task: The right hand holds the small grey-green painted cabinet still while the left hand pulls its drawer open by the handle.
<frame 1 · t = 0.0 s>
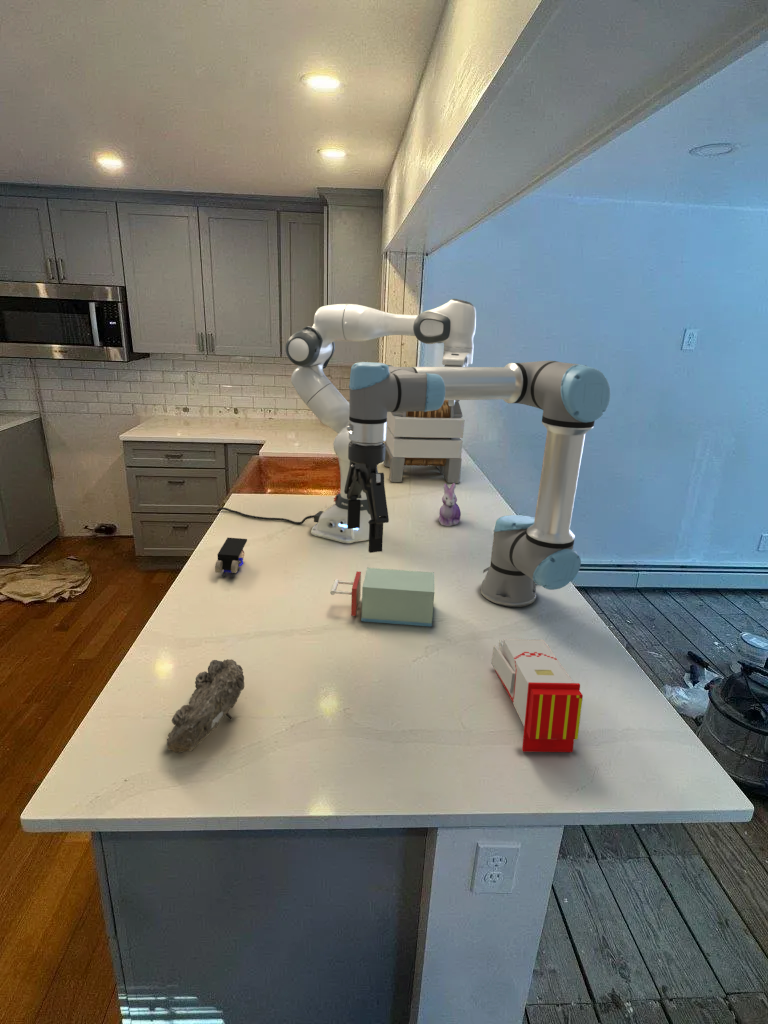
left hand: (454, 403, 174), 48 cm above the counter, tool pointing down, fingers open, 8 cm apart
right hand: (363, 539, 121), 28 cm above the counter, tool pointing down, fingers open, 13 cm apart
transformer: (419, 473, 275), on the counter
figurine: (449, 522, 213), on the counter
figurine character: (232, 569, 168), on the counter
cabinet: (397, 612, 148), on the counter
fossil: (212, 717, 108), on the counter
drawer: (374, 594, 147), point 5 cm above the counter, slide at 1.5 cm
toy: (527, 703, 116), on the counter
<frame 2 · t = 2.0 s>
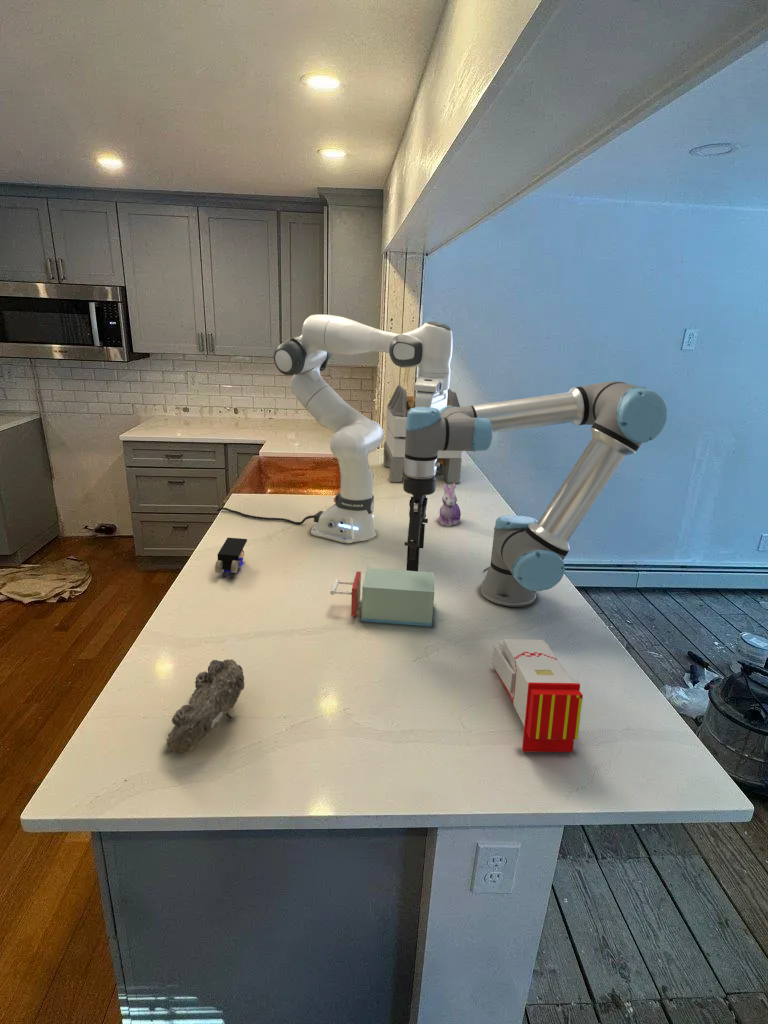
left hand: (430, 430, 166), 42 cm above the counter, tool pointing down, fingers open, 8 cm apart
right hand: (415, 558, 139), 17 cm above the counter, tool pointing down, fingers open, 13 cm apart
nothing on the counter moved.
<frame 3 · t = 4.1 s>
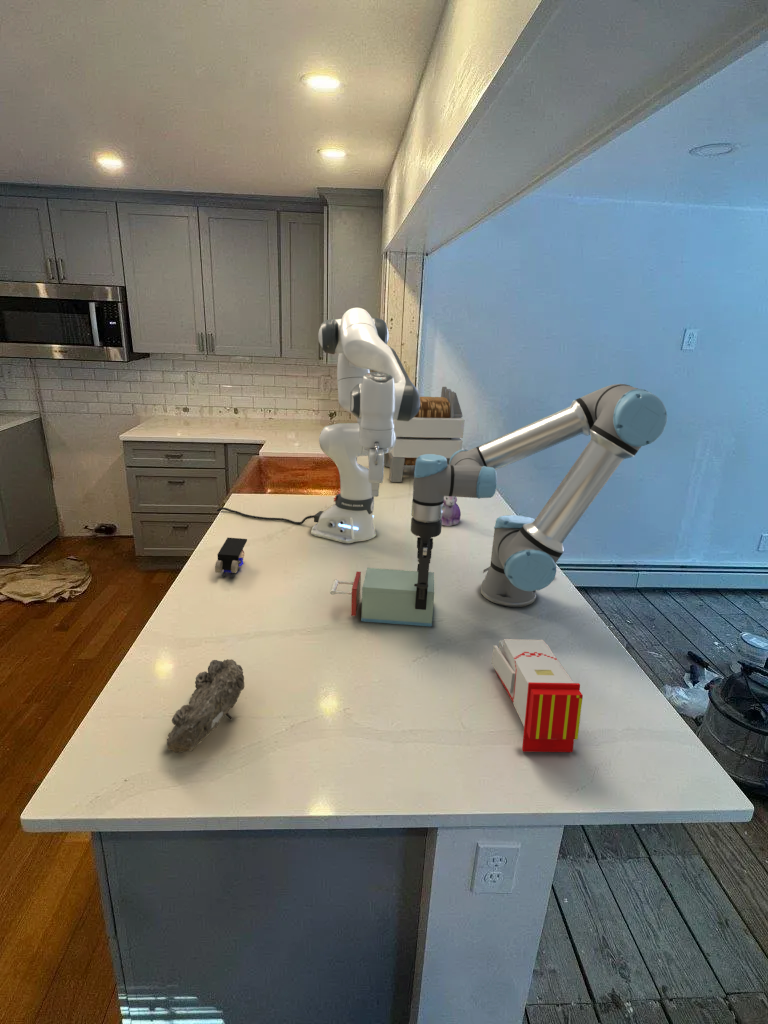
left hand: (374, 490, 149), 30 cm above the counter, tool pointing down, fingers open, 8 cm apart
right hand: (420, 597, 146), 5 cm above the counter, tool pointing down, fingers closed on cabinet, 11 cm apart
cabinet: (397, 612, 148), on the counter, touching right hand
everything else where it was.
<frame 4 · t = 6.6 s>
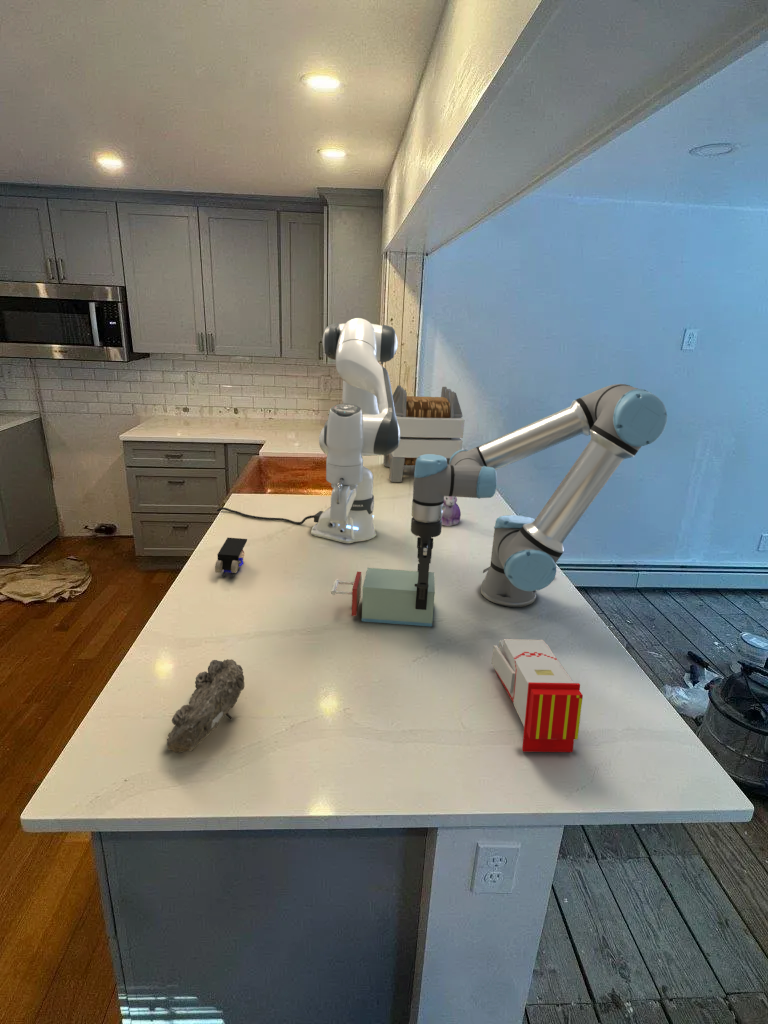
left hand: (343, 526, 141), 23 cm above the counter, tool pointing down, fingers closed
right hand: (421, 597, 146), 5 cm above the counter, tool pointing down, fingers closed on cabinet, 11 cm apart
cabinet: (397, 612, 148), on the counter, touching right hand
everything else where it was.
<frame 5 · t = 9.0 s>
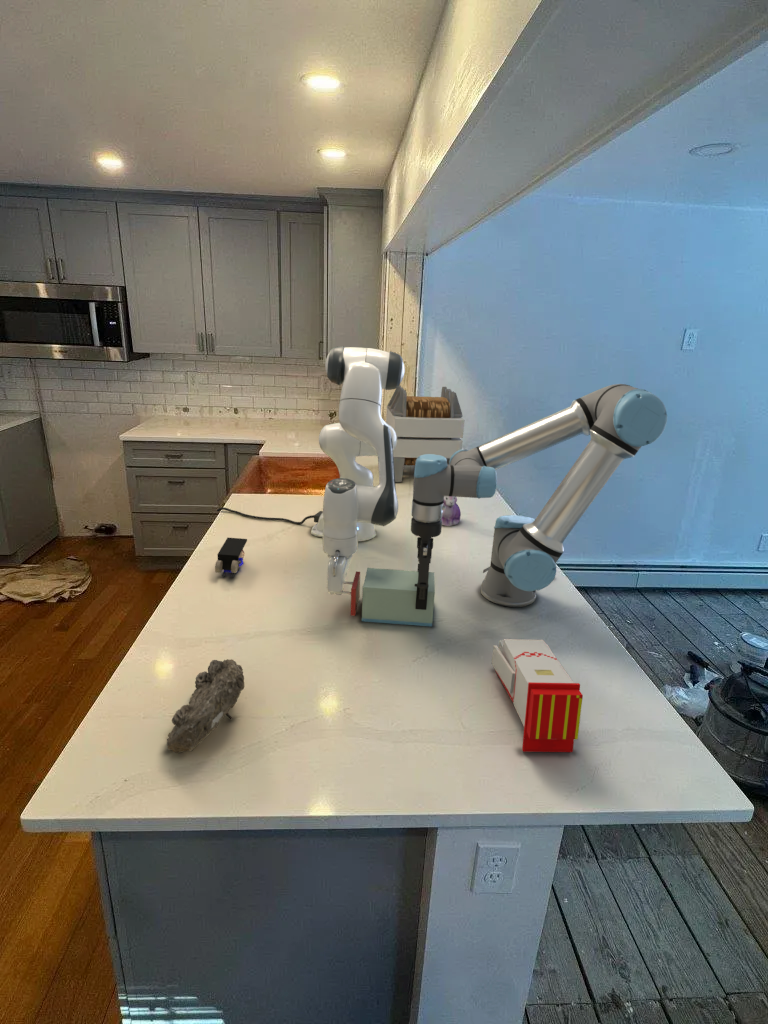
left hand: (339, 592, 147), 5 cm above the counter, tool pointing down, fingers closed, pressing on drawer
right hand: (421, 597, 146), 5 cm above the counter, tool pointing down, fingers closed on cabinet, 11 cm apart
cabinet: (397, 612, 148), on the counter, touching right hand
drawer: (373, 594, 147), point 5 cm above the counter, slide at 1.8 cm, touching left hand
everything else where it was.
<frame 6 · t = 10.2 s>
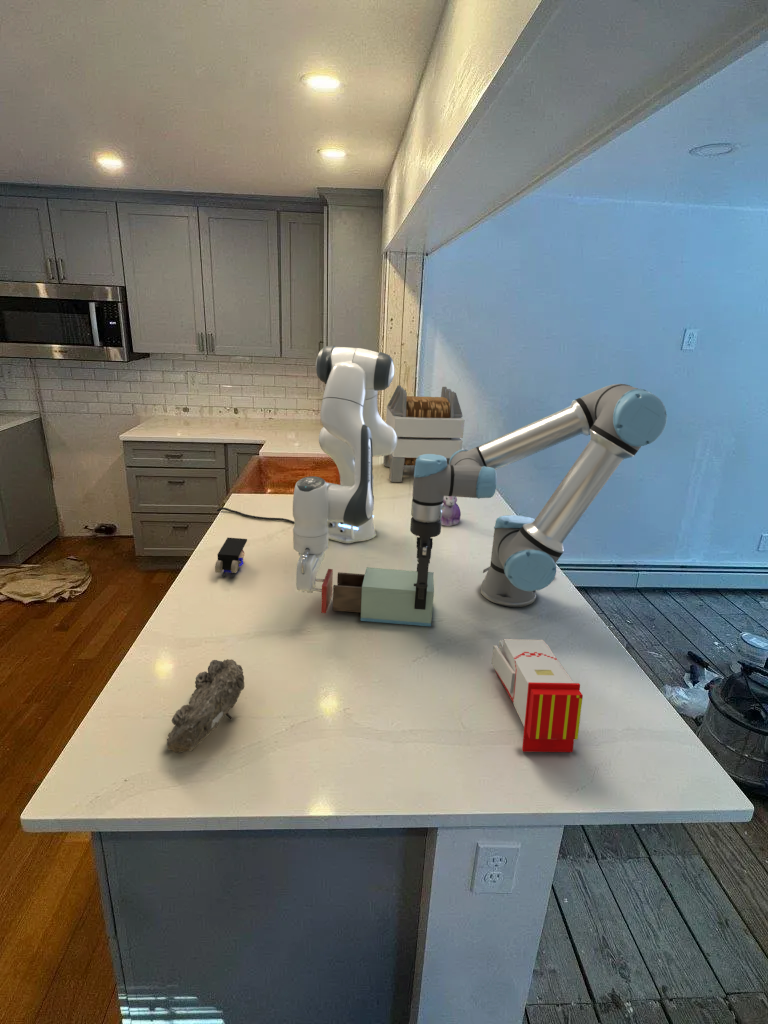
left hand: (311, 590, 148), 5 cm above the counter, tool pointing down, fingers closed, pressing on drawer
right hand: (420, 597, 146), 5 cm above the counter, tool pointing down, fingers closed on cabinet, 11 cm apart
cabinet: (396, 612, 148), on the counter, touching right hand
drawer: (345, 591, 147), point 5 cm above the counter, slide at 8.9 cm, touching left hand
everything else where it was.
when the right hand's fingers open (5 cm above the counter, at t = 12.1 s): cabinet stays where it is, on the counter.
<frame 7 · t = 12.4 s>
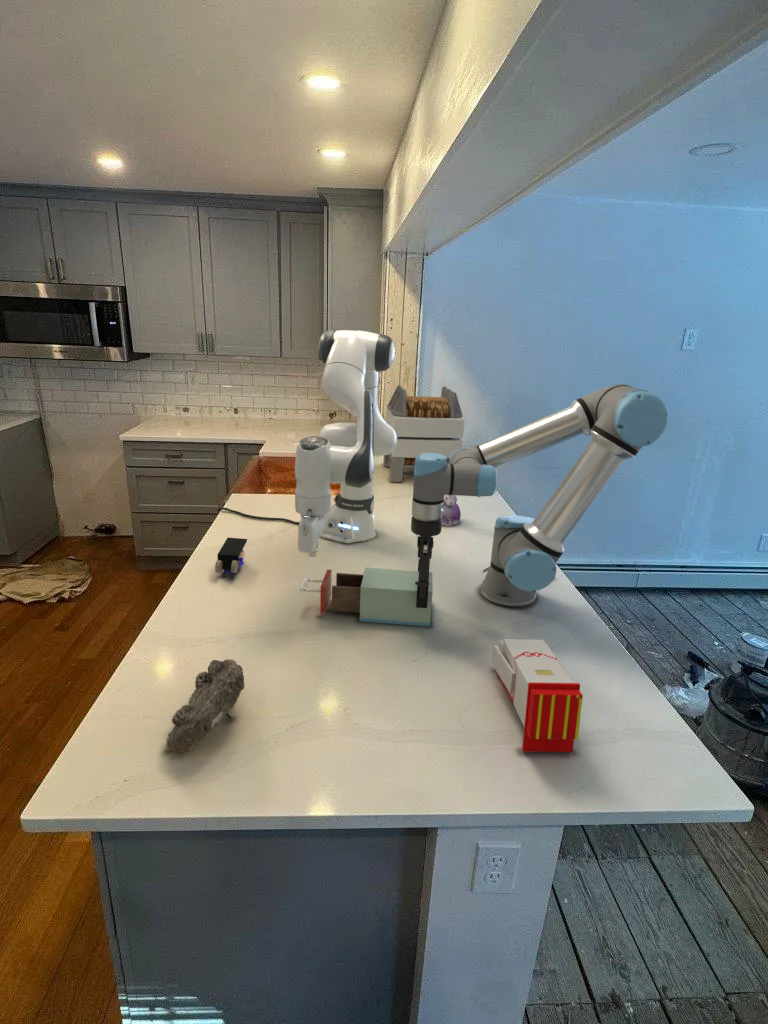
left hand: (313, 555, 144), 15 cm above the counter, tool pointing down, fingers closed
right hand: (421, 594, 146), 6 cm above the counter, tool pointing down, fingers open, 13 cm apart
cabinet: (395, 612, 148), on the counter
drawer: (344, 592, 147), point 5 cm above the counter, slide at 8.9 cm
everything else where it was.
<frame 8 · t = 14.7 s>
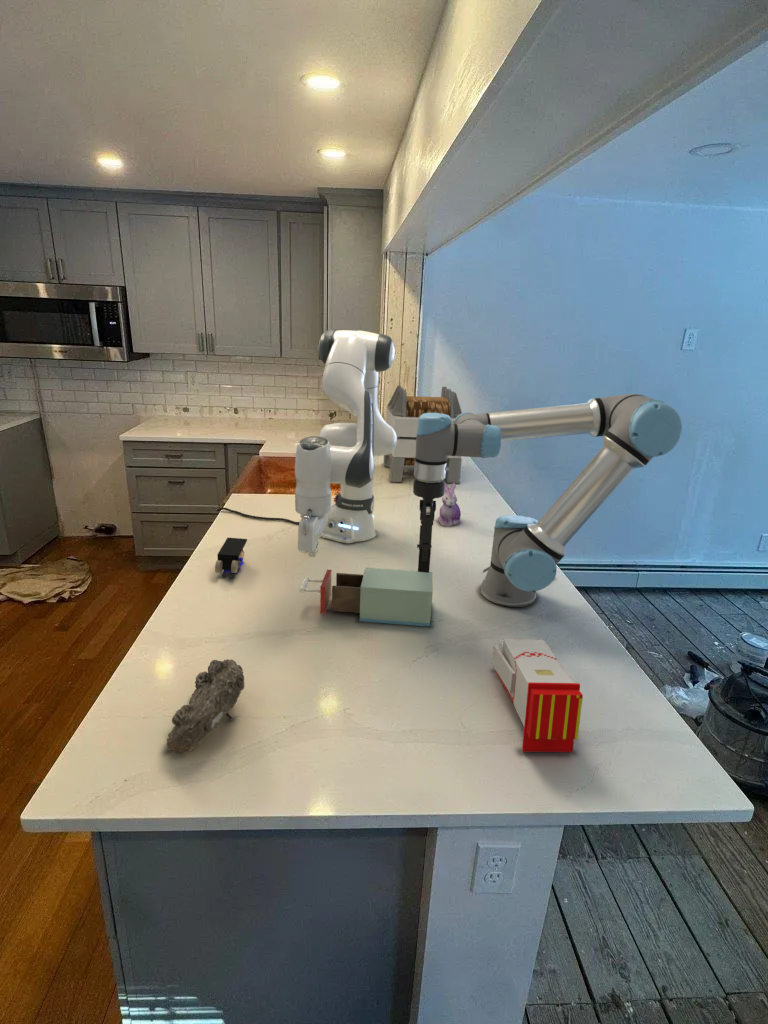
left hand: (313, 555, 144), 15 cm above the counter, tool pointing down, fingers closed
right hand: (423, 560, 142), 16 cm above the counter, tool pointing down, fingers open, 13 cm apart
nothing on the counter moved.
at the end: drawer slide at 8.9 cm; cabinet tilted 0°; cabinet never tilted more than 3° during the clip; cabinet moved 0.5 cm from its start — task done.
